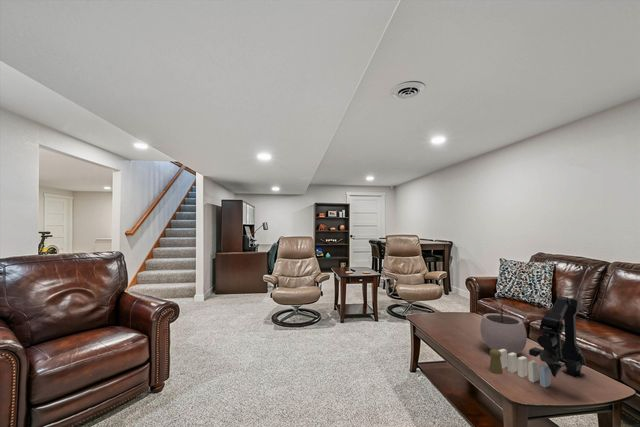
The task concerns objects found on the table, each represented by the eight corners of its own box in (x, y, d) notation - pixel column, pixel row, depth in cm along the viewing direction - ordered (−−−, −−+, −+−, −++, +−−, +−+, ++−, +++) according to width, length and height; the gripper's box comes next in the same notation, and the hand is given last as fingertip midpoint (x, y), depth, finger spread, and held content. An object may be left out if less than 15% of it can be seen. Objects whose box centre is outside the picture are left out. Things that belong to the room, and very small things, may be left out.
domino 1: (503, 364, 154) (503, 348, 155) (507, 366, 152) (506, 350, 153) (498, 367, 152) (497, 350, 152) (502, 368, 150) (501, 351, 151)
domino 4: (534, 378, 141) (533, 360, 141) (538, 380, 139) (537, 361, 139) (528, 380, 139) (528, 362, 139) (533, 382, 137) (532, 364, 137)
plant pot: (481, 341, 186) (479, 296, 187) (524, 349, 173) (523, 301, 175) (480, 355, 165) (479, 305, 166) (530, 366, 153) (528, 311, 154)
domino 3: (523, 373, 145) (522, 356, 146) (527, 375, 143) (526, 357, 144) (517, 375, 143) (517, 358, 143) (522, 377, 141) (521, 359, 142)
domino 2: (513, 369, 150) (512, 352, 150) (517, 370, 148) (516, 353, 148) (507, 371, 147) (507, 354, 148) (511, 373, 146) (511, 355, 146)
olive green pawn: (497, 368, 151) (496, 347, 151) (505, 373, 145) (504, 352, 145) (486, 368, 151) (486, 347, 151) (494, 374, 145) (493, 352, 145)
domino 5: (545, 383, 136) (544, 364, 137) (550, 385, 134) (549, 366, 135) (540, 385, 134) (539, 366, 134) (544, 387, 132) (544, 368, 133)
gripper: (522, 339, 136) (523, 371, 136) (569, 355, 120) (571, 391, 119) (534, 335, 142) (535, 366, 141) (581, 349, 125) (583, 385, 124)
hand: (554, 376), depth 131 cm, fingers closed
